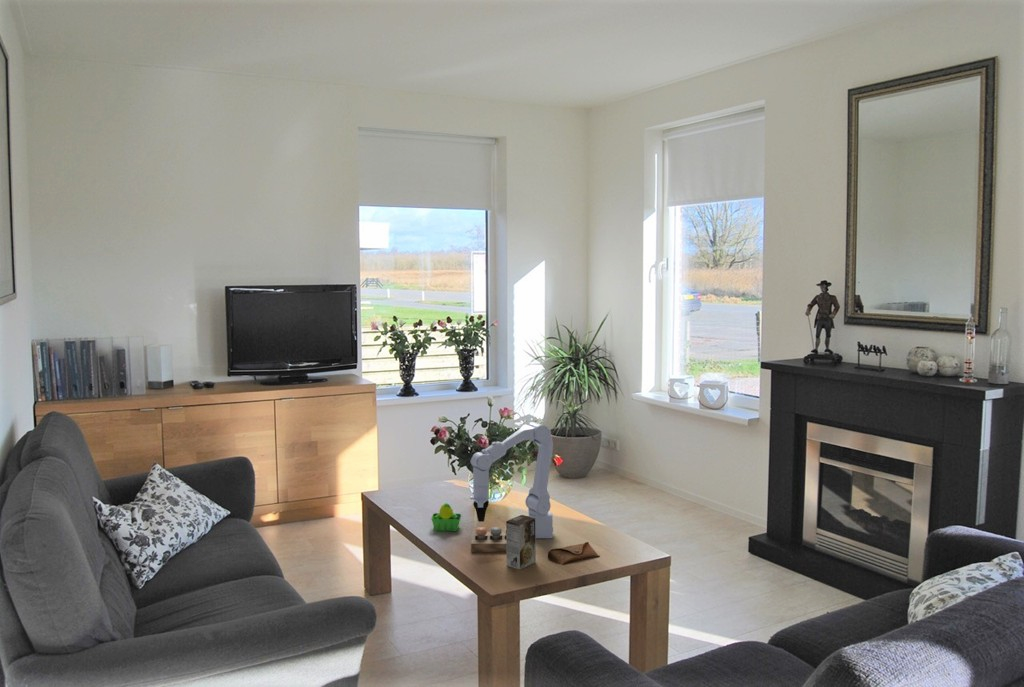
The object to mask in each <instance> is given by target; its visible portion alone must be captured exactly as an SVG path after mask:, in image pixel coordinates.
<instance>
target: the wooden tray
mask: <svg viewBox="0 0 1024 687" xmlns="http://www.w3.org/2000/svg"><path fill="white" fill-rule="evenodd" d="M470 547H471V548H470V551H471V553H472V552H475V553H476V552H478V553H479V552H483V553H484V552H496V553H497V552H506V534H505V531H501V534H500V539H499V540H493V539H492V534H491V531H487V534H485V539H484V540H478V535H477V534H476V531H472V534H471V542H470Z"/></svg>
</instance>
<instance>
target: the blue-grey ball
mask: <svg viewBox="0 0 1024 687" xmlns="http://www.w3.org/2000/svg"><path fill="white" fill-rule="evenodd" d="M490 532H491V534H492V539H493V540H499V539H500V534H501V532H502V528H501V527H499V526H493V527H490Z"/></svg>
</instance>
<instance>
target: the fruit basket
mask: <svg viewBox="0 0 1024 687" xmlns="http://www.w3.org/2000/svg"><path fill="white" fill-rule="evenodd" d="M461 517H462V514H461V513H454V509H453V508H452V506H451V505H450V504H449V503H448V502H445V503H444V504H442V505H441V507H440V509H439V513H438V512H436V513H435V512H434V513H432V516H431V518H430V519H431V522H432V526H433V529H434V531H440V532H441V531H444V532H445V531H452V532H453V531H454V532H457V531H458V529H459V525H460V521H461Z"/></svg>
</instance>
